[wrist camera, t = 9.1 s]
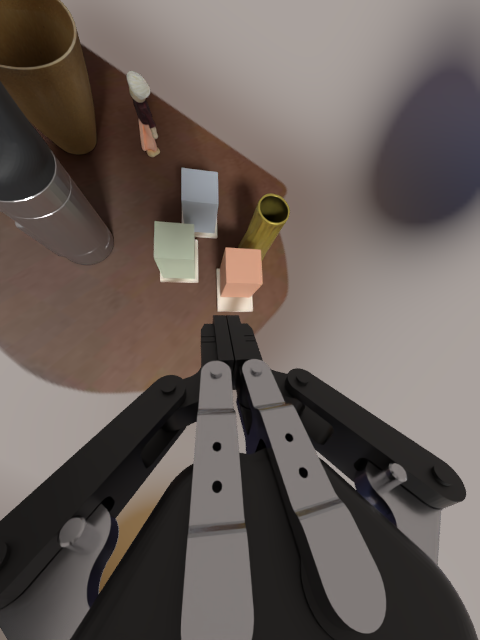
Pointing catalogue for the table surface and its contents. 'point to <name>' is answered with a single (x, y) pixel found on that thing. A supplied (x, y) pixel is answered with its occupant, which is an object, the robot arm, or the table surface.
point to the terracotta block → (240, 272)
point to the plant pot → (47, 71)
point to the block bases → (222, 302)
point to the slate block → (199, 199)
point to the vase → (265, 223)
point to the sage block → (175, 249)
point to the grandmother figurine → (143, 112)
